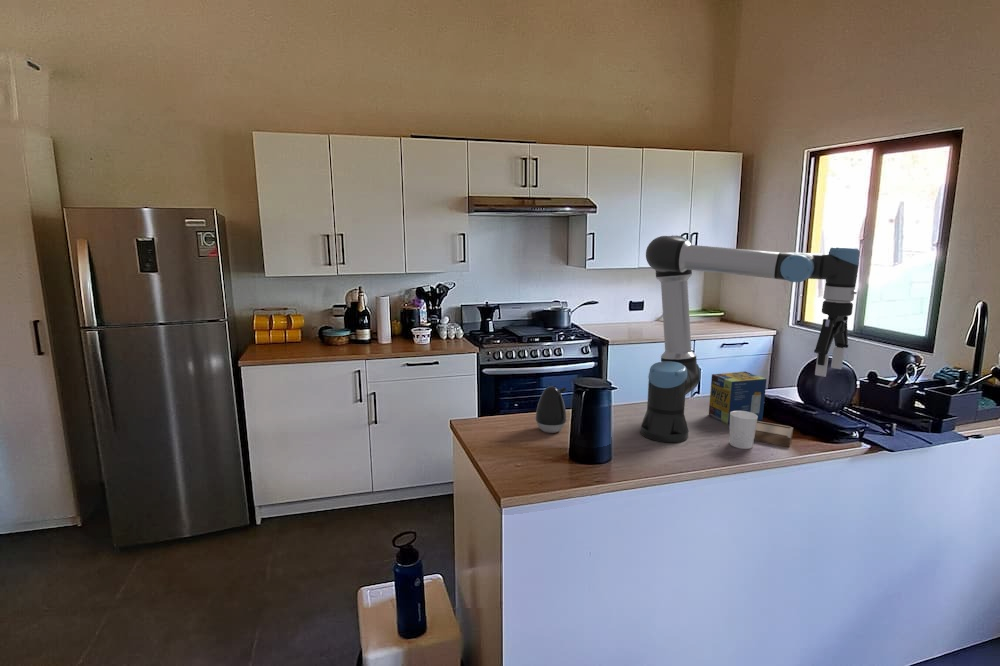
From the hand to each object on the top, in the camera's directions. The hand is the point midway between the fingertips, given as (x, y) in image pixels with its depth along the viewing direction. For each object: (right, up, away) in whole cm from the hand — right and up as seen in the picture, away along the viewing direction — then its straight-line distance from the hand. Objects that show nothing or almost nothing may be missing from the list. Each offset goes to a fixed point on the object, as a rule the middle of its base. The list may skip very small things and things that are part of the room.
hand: (828, 372), depth 163 cm
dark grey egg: (-81, -21, +21) cm, 86 cm away
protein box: (-13, -19, +35) cm, 42 cm away
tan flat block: (-11, -22, +16) cm, 29 cm away
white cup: (-22, -24, +9) cm, 34 cm away
